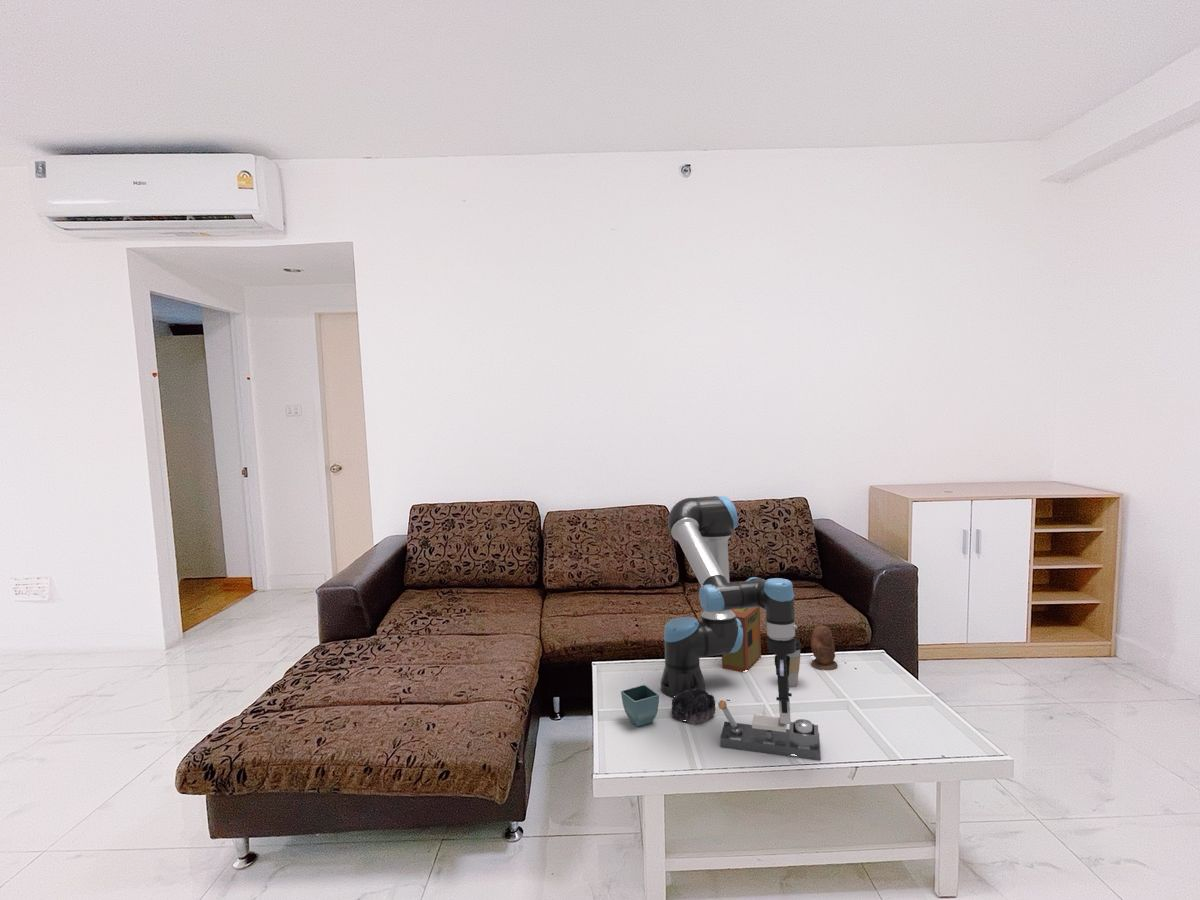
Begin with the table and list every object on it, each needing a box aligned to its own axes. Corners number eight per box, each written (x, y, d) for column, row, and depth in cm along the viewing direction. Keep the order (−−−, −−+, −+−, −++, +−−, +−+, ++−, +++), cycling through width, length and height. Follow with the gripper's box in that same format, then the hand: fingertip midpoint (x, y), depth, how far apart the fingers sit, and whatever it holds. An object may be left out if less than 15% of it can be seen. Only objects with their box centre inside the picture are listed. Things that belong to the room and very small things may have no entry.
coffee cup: (799, 677, 210) (798, 635, 210) (806, 689, 201) (804, 645, 200) (771, 677, 211) (770, 635, 211) (777, 689, 202) (775, 645, 201)
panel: (720, 746, 166) (719, 727, 166) (724, 729, 176) (724, 711, 176) (820, 760, 158) (819, 740, 158) (819, 741, 167) (818, 722, 167)
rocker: (752, 728, 165) (751, 723, 165) (753, 718, 171) (753, 713, 171) (786, 732, 163) (786, 727, 163) (786, 722, 168) (786, 717, 168)
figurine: (810, 671, 217) (806, 629, 217) (811, 661, 226) (806, 621, 227) (837, 671, 214) (833, 629, 214) (837, 662, 223) (832, 621, 223)
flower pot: (635, 731, 176) (634, 701, 176) (621, 719, 184) (620, 690, 184) (660, 724, 180) (660, 694, 180) (645, 712, 188) (644, 684, 188)
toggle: (730, 729, 169) (715, 704, 170) (731, 725, 171) (717, 700, 172) (738, 726, 168) (723, 701, 169) (738, 722, 171) (724, 697, 172)
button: (795, 740, 162) (795, 725, 162) (795, 732, 167) (795, 718, 167) (812, 742, 161) (812, 727, 161) (812, 734, 165) (812, 720, 165)
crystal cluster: (669, 708, 192) (665, 678, 191) (710, 702, 193) (707, 673, 192) (675, 731, 179) (671, 700, 178) (720, 726, 179) (716, 694, 178)
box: (746, 673, 216) (744, 617, 215) (722, 668, 221) (720, 614, 220) (761, 657, 230) (759, 605, 229) (738, 653, 235) (736, 602, 234)
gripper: (795, 645, 157) (799, 735, 157) (795, 629, 170) (799, 712, 170) (765, 643, 159) (769, 732, 160) (768, 628, 172) (772, 710, 173)
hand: (785, 722), depth 165 cm, fingers closed
